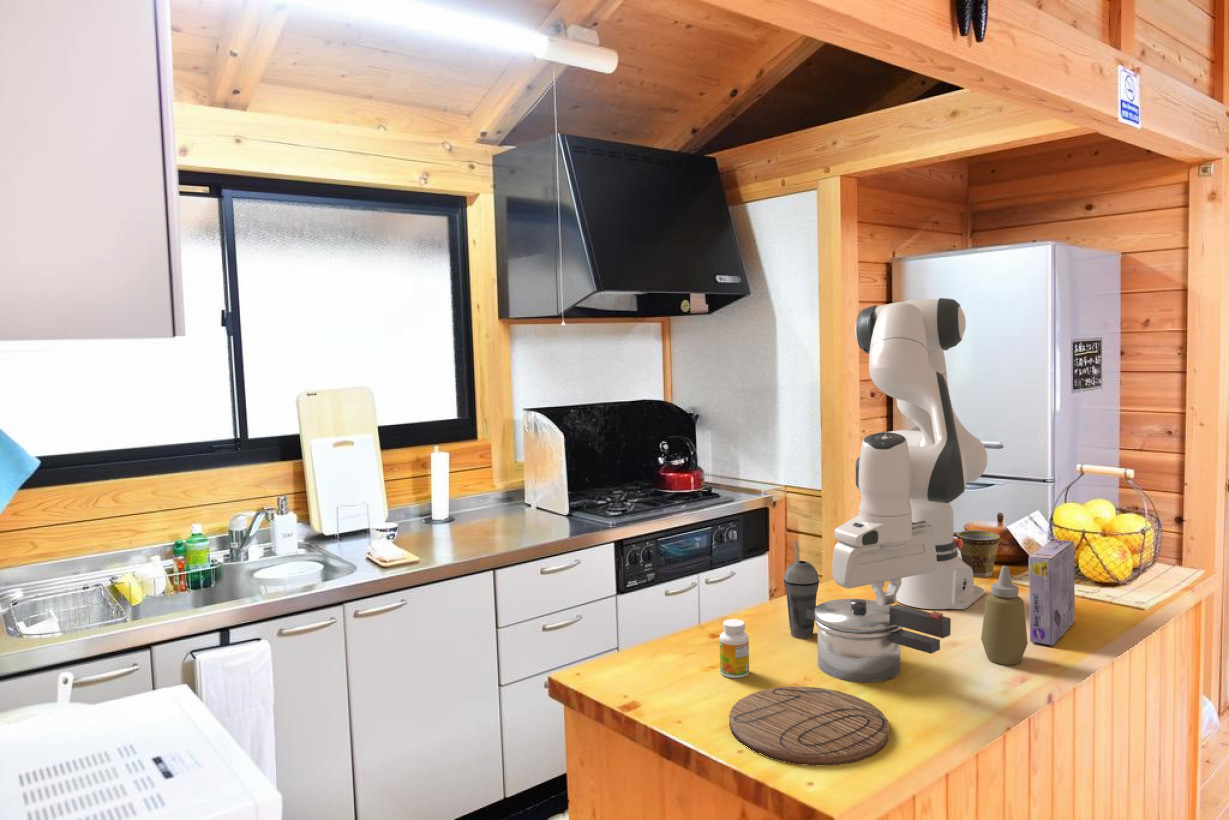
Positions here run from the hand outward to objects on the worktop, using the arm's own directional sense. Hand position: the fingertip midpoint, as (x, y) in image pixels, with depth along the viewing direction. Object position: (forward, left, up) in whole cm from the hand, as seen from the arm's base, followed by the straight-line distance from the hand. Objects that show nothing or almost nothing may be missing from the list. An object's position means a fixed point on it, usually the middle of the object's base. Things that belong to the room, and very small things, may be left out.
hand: (886, 603), depth 157 cm
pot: (-4, -6, -15) cm, 17 cm away
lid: (-4, -4, -6) cm, 8 cm away
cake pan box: (-47, +8, -15) cm, 51 cm away
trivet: (+23, +1, -16) cm, 28 cm away
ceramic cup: (-76, -25, -15) cm, 81 cm away
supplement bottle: (+15, -23, -15) cm, 31 cm away
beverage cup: (-10, -27, -15) cm, 32 cm away
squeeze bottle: (-26, +8, -15) cm, 31 cm away
